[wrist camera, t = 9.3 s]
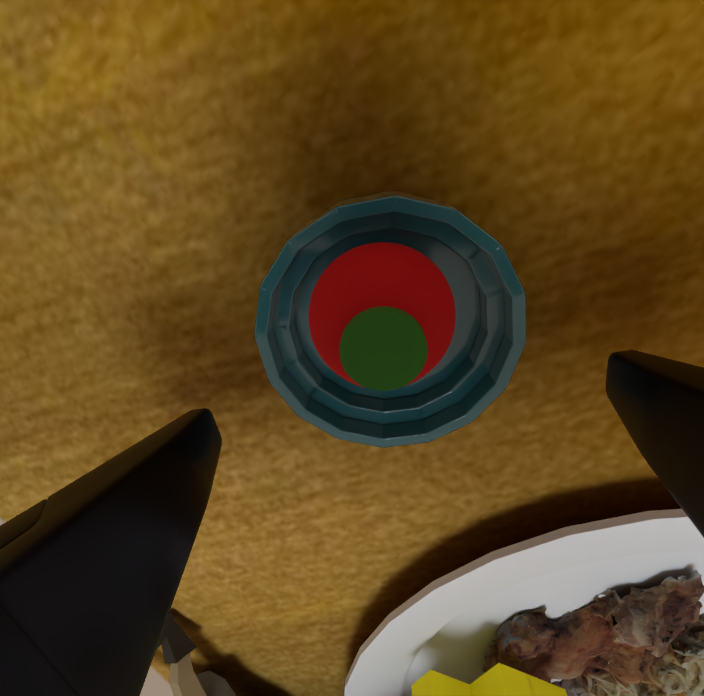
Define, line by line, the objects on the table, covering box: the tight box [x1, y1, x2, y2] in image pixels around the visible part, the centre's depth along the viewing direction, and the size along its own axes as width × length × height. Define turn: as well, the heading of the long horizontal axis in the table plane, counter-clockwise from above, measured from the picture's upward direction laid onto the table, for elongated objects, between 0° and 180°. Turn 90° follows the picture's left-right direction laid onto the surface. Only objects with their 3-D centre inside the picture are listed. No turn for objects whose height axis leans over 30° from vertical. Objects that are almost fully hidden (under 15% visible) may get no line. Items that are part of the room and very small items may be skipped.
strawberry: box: [309, 242, 456, 391], centre depth 11 cm, size 4×4×4 cm
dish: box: [254, 191, 526, 448], centre depth 13 cm, size 8×8×2 cm
